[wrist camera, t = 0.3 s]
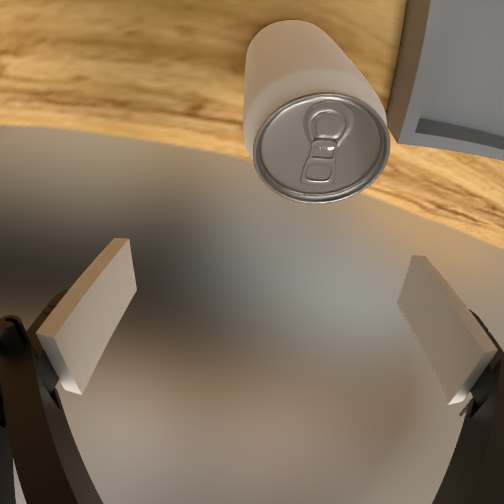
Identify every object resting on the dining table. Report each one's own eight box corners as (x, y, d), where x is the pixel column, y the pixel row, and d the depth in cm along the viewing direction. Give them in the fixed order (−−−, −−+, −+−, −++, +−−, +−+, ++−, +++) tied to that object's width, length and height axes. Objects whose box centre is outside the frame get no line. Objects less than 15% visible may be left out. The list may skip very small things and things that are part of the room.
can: (342, 24, 16) (420, 98, 9) (329, 99, 21) (374, 213, 14) (246, 15, 16) (241, 76, 9) (245, 94, 21) (241, 209, 14)
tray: (412, -78, 7) (437, -79, 6) (565, 13, 7) (588, 27, 5) (383, 121, 22) (397, 143, 20) (519, 147, 22) (534, 168, 20)
